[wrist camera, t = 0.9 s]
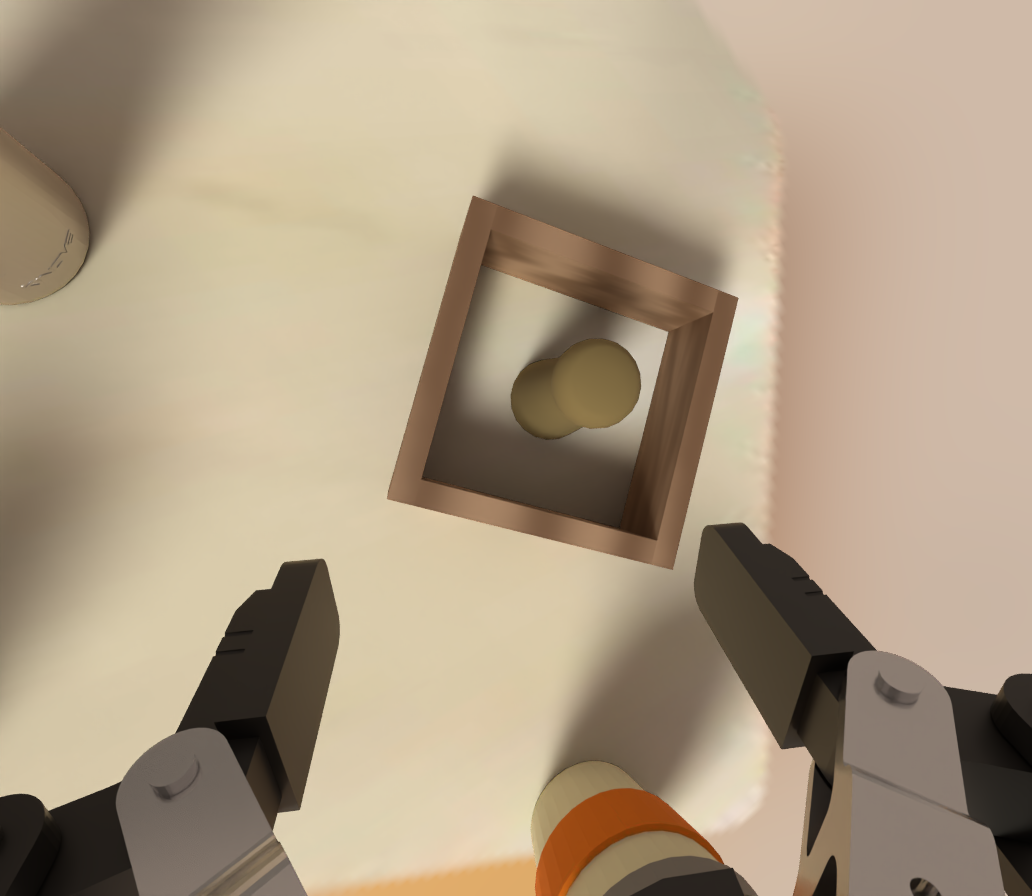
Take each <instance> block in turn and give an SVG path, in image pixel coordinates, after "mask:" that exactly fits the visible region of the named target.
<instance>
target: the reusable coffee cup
mask: <svg viewBox="0 0 1032 896" xmlns="http://www.w3.org/2000/svg"><path fill="white" fill-rule="evenodd" d="M531 837H532V845H533V850H534V856H535V861H536V867H537V872H536V883H535V891H536V896H630V895H632V894H634V893H636V892H638V891H640V890H642V889H644V888H646V887H648V886H649V885H651V884H653V883H655V882H657V881H659V880H661V879H663V878H668V877H675V876H682V875H688V874H695V873H702V872H708V871H715V870H722V869H728V868H730V867H729V866H727V865H724V863H723V861H722V859H721V857H720V855H719V854H718V853H717V852H716V851H715V849H714V848H713V847H712V846H711V845H710V843H709V842H708V841H707V840H706V839H704V838H703V837H702V836H701V835H700V834H699V833H698V832H697V831H696V830H695V829H694V828H693V827H692V826H691V825H689V824H688V823H687V822H686V821H685V820H684V819H683V818H682V817H681V816H680V815H679V814H678V813H677V812H676V811H674V810H673V809H672V808H671V807H670V806H669V805H668V804H667V803H665V802H664V801H663V800H661V799H660V798H659V797H657V796H655V795H653V794H651V793H648V792H646V791H644V790H643V789H642V788H641V787H640V786H639V785H638V784H637V783H636V782H635V781H634V780H633V779H632V778H631V777H630V776H629V775H628V774H627V773H626V772H624V771H623V770H622V769H620V768H619V767H617V766H615V765H613V764H610V763H607V762H602V761H587V762H583V763H578V764H576V765H573V766H571V767H569V768H567V769H565V770H564V771H562V772H561V773H560V774H558V775H557V776H556V777H555V778H554V779H553V780H552V781H551V782H550V783H549V784H548V785H547V786H546V788H545V789H544V790H543V792H542V793H541V795H540V797H539V799H538V801H537V803H536V805H535V809H534V812H533V816H532V822H531ZM734 872H735V871H734ZM735 874H736V877H737V879H738V881H739V884H740V886H741V889H742V891H743V893H745V894H751V895H754V896H758V895H757V894H756V892H755V891H754V890H753V889H752V887H751V886H750V885H749V884H748V883H747V881H746V880H744V878H743V877H742V876H741V875H739V874H738V873H737V872H735Z"/></svg>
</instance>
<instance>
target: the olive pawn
mask: <svg viewBox="0 0 1032 896" xmlns="http://www.w3.org/2000/svg"><path fill="white" fill-rule="evenodd" d="M640 390H641V379H640V372H639V369H638V367H637V364H636V361H635V360H634V359H633V357H632V356H631V355H630V353H629V352H628V351H627V350H626V349H625V348H623V347H622V346H620V345H619V344H618V343H615V342H612V341H609V340H606V339H587V340H584V341H581V342H579V343H576V344H574V345H573V346H571V347H570V348H569V349H568V350H567V351H565V352H564V353H563V354H562V355H561V357H559V358H552V359H545V360H540V361H537V362H535V363H532V364H530V365H528V366H527V367H526V368H525V369H524V370H522V371H521V372H520V373H519V375H518V377H517V378H516V380H515V382H514V384H513V388H512V392H511V407H512V410H513V413H514V415H515V418H516V420H517V421H518V423H519V424H520V425H521V426H522V428H523V429H524V430H525V431H527V432H529V433H530V434H532V435H533V436H535V437H538V438H542V439H546V440H549V439H559V438H562V437H564V436H566V435H569V434H571V433H573V432H574V431H576V430H578V429H580V428H582V427H586V428H590V429H593V428H607V427H610V426H612V425H614V424H617V423H619V422H620V421H621V420H623V419H624V418H625V417H626V416H627V415H628V414H629V413H630V412H631V411H632V410H633V408H634V406H635V405H636V403H637V401H638V399H639V394H640Z"/></svg>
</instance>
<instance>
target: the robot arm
mask: <svg viewBox="0 0 1032 896" xmlns="http://www.w3.org/2000/svg"><path fill="white" fill-rule="evenodd" d="M89 233H90V232H89V226H88V220H87V215H86V213H85V211H84V208H83V206H82V204H81V201H80V200H79V198H78V197H77V196H76V194H75V193H74V191H73V190H72V188H71V187H70V186H69V185H68V184H67V183H66V182H65V181H64V180H62V179H61V178H60V177H59V176H58V175H57V174H56V173H55V172H54V171H52V170H51V169H50V168H49V167H48V166H46V165H45V164H44V163H43V162H41V161H40V160H39V159H38V158H37V157H35V156H34V155H33V154H32V153H31V152H29V151H28V150H27V149H26V148H25V147H23V146H22V145H21V144H20V143H19V142H18V141H17V140H15V139H14V138H13V137H12V136H11V135H9V134H8V133H7V132H6V131H5V130H3V129H2V128H1V127H0V305H16V304H22V303H28V302H33V301H36V300H39V299H41V298H44V297H47V296H49V295H51V294H53V293H54V292H56V291H57V290H59V289H61V288H62V287H64V286H65V285H66V284H67V283H68V282H69V281H70V280H71V279H72V278H73V277H74V276H75V275H76V273H77V272H78V270H79V269H80V267H81V265H82V264H83V262H84V259H85V256H86V253H87V250H88V247H89ZM694 591H695V597H696V601H697V604H698V606H699V609H700V611H701V613H702V614H703V616H704V618H705V619H706V621H707V623H708V624H709V626H710V628H711V630H712V631H713V633H714V635H715V636H716V638H717V640H718V642H719V643H720V645H721V647H722V648H723V650H724V652H725V654H726V655H727V657H728V659H729V660H730V662H731V664H732V666H733V667H734V669H735V671H736V672H737V674H738V676H739V678H740V679H741V681H742V683H743V684H744V686H745V688H746V690H747V691H748V693H749V695H750V696H751V698H752V700H753V702H754V703H755V705H756V707H757V708H758V710H759V712H760V713H761V715H762V717H763V719H764V720H765V722H766V724H767V725H768V727H769V729H770V731H771V732H772V734H773V736H774V737H775V739H776V741H777V743H778V744H779V746H780V748H781V749H788V748H795V747H803V746H806V748H807V750H808V751H809V753H810V754H811V756H812V757H813V760H812V763H811V765H810V770H809V779H808V787H807V797H806V807H805V816H804V826H803V835H802V845H801V855H800V864H799V870H798V876H797V881H796V886H795V889H794V893H793V896H1005V892H1006V893H1007V895H1008V896H1032V674H1017V675H1013V676H1011V677H1009V678H1008V679H1007V680H1006V681H1005V683H1004V685H1003V686H1002V688H1001V690H1000V692H999V693H998V695H995V694H988V693H982V692H976V691H970V690H963V689H957V688H950V687H945V686H942V685H941V683H940V682H939V681H938V680H937V679H936V678H935V677H934V676H933V675H931V674H930V673H929V672H927V671H926V670H924V669H923V668H922V667H921V666H919V665H917V664H915V663H914V662H912V661H910V660H908V659H906V658H903V657H901V656H898V655H895V654H891V653H888V652H882V651H877V650H876V649H875V648H874V647H873V646H872V645H871V644H870V642H868V640H867V639H866V638H865V637H864V636H863V635H862V634H861V632H860V631H859V630H858V629H857V628H856V627H855V626H854V625H853V624H852V623H851V621H849V619H848V618H847V617H846V616H845V615H844V614H843V613H842V612H841V610H840V609H839V608H838V607H837V606H836V605H835V604H834V603H833V602H832V601H831V599H830V598H829V597H828V596H827V595H823V591H822V590H821V588H819V586H818V585H817V584H816V583H815V582H814V581H813V580H810V579H809V575H808V574H807V573H806V572H805V571H804V570H803V569H802V568H801V566H799V564H798V563H797V562H796V561H795V560H794V559H793V558H792V557H790V556H789V555H787V554H786V553H784V552H782V551H781V550H779V549H778V548H776V547H774V546H773V545H771V544H762V543H761V542H760V541H759V540H758V538H757V537H756V536H755V535H754V534H753V533H752V531H751V530H750V529H749V528H748V527H747V526H746V525H745V524H743V523H729V524H718V525H708V526H706V527H705V528H704V529H703V532H702V537H701V543H700V549H699V555H698V561H697V567H696V573H695V579H694ZM339 635H340V624H339V615H338V611H337V606H336V602H335V598H334V594H333V589H332V585H331V581H330V577H329V572H328V568H327V565H326V562H325V560H324V559H313V560H302V561H291V562H284V563H283V564H282V565H281V567H280V570H279V572H278V574H277V577H276V579H275V581H274V584H273V586H272V588H271V589H267V590H256V591H255V592H254V593H253V594H252V595H251V596H250V597H249V598H248V599H247V600H246V601H245V602H244V603H243V604H242V605H241V606H240V607H239V608H238V609H237V610H236V611H235V613H234V615H233V617H232V619H231V621H230V624H229V626H228V628H227V630H226V632H225V637H223V638H222V640H221V642H220V644H219V646H218V648H217V650H216V656H213V658H212V660H211V662H210V664H209V666H208V668H207V670H206V672H205V674H204V676H203V678H202V681H201V683H200V685H199V687H198V689H197V691H196V693H195V695H194V697H193V699H192V701H191V703H190V705H189V707H188V709H187V711H186V713H185V715H184V717H183V719H182V721H181V723H180V725H179V727H178V729H177V731H176V733H175V734H173V735H171V736H169V737H167V738H165V739H163V740H162V741H160V742H158V743H157V744H155V745H154V746H153V747H151V748H150V749H149V750H147V751H146V752H145V753H144V754H143V755H142V756H141V757H140V758H139V759H138V760H137V761H136V762H135V763H134V764H133V765H132V767H131V768H130V769H129V770H128V772H127V773H126V775H125V776H124V778H123V780H122V781H121V782H119V783H117V784H115V785H112V786H110V787H108V788H105V789H103V790H100V791H98V792H95V793H93V794H90V795H88V796H85V797H83V798H80V799H77V800H75V801H72V802H70V803H67V804H65V805H62V806H60V807H57V808H55V809H52V810H50V811H48V810H47V809H46V808H45V806H44V805H43V803H42V802H41V801H40V800H39V799H38V798H36V797H35V796H32V795H29V794H13V795H8V796H4V797H0V896H307V894H306V892H305V890H304V888H303V886H302V884H301V882H300V880H299V878H298V876H297V874H296V872H295V870H294V868H293V866H292V864H291V862H290V860H289V858H288V856H287V854H286V852H285V851H284V849H283V847H282V845H281V843H280V842H278V841H277V839H276V837H275V835H274V833H273V828H274V824H275V820H276V817H277V813H280V812H288V811H296V810H300V807H301V803H302V798H303V794H304V790H305V786H306V781H307V777H308V773H309V769H310V764H311V760H312V756H313V752H314V747H315V743H316V739H317V735H318V730H319V726H320V722H321V718H322V713H323V709H324V705H325V700H326V696H327V692H328V688H329V683H330V679H331V675H332V671H333V666H334V662H335V658H336V654H337V649H338V645H339ZM1004 891H1005V892H1004ZM630 896H754V895H751V894H745V893H743V891H742V889H741V886H740V884H739V881H738V879H737V877H736V874H735V872H734V869H733V868H728V869H722V870H715V871H708V872H702V873H695V874H688V875H682V876H675V877H668V878H663V879H661V880H659V881H657V882H655V883H653V884H651V885H649V886H648V887H646V888H644V889H642V890H640V891H638V892H636V893H634V894H632V895H630Z"/></svg>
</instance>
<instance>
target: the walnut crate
mask: <svg viewBox="0 0 1032 896" xmlns="http://www.w3.org/2000/svg"><path fill="white" fill-rule="evenodd" d="M481 265H483V266H486V267H489V268H492V269H494V270H497V271H500V272H503V273H506V274H508V275H511V276H514V277H517V278H520V279H522V280H525V281H528V282H531V283H534V284H536V285H539V286H542V287H545V288H548V289H550V290H553V291H556V292H559V293H562V294H564V295H567V296H570V297H573V298H576V299H578V300H581V301H584V302H587V303H590V304H592V305H595V306H598V307H601V308H604V309H606V310H609V311H612V312H615V313H618V314H620V315H623V316H626V317H629V318H631V319H634V320H637V321H640V322H643V323H645V324H648V325H651V326H654V327H657V328H659V329H662V330H665V331H668V332H669V333H668V337H667V341H666V345H665V349H664V353H663V357H662V361H661V365H660V369H659V373H658V377H657V381H656V385H655V389H654V393H653V397H652V401H651V405H650V409H649V413H648V417H647V421H646V425H645V429H644V433H643V437H642V441H641V445H640V449H639V453H638V457H637V461H636V465H635V469H634V473H633V477H632V481H631V485H630V488H629V492H628V496H627V500H626V504H625V508H624V512H623V516H622V520H621V524H620V528H617V527H613V526H609V525H605V524H601V523H597V522H594V521H590V520H586V519H582V518H578V517H574V516H570V515H567V514H563V513H559V512H555V511H551V510H547V509H544V508H540V507H536V506H532V505H528V504H524V503H521V502H517V501H513V500H509V499H505V498H501V497H498V496H494V495H490V494H486V493H482V492H478V491H474V490H471V489H467V488H463V487H459V486H455V485H451V484H448V483H444V482H440V481H436V480H432V479H428V478H425V477H422V475H423V471H424V467H425V464H426V460H427V457H428V453H429V449H430V446H431V442H432V439H433V435H434V431H435V428H436V424H437V421H438V417H439V414H440V410H441V406H442V403H443V399H444V396H445V392H446V388H447V385H448V381H449V378H450V374H451V370H452V367H453V363H454V360H455V356H456V353H457V349H458V345H459V342H460V338H461V335H462V331H463V327H464V324H465V320H466V317H467V313H468V309H469V306H470V302H471V299H472V295H473V292H474V288H475V284H476V281H477V277H478V274H479V270H480V266H481ZM737 302H738V297H735V296H732V295H730V294H727V293H725V292H722V291H719V290H717V289H714V288H712V287H709V286H706V285H704V284H701V283H699V282H696V281H693V280H691V279H688V278H686V277H683V276H680V275H678V274H675V273H673V272H670V271H667V270H665V269H662V268H660V267H657V266H655V265H652V264H649V263H647V262H644V261H642V260H639V259H636V258H634V257H631V256H629V255H626V254H623V253H621V252H618V251H616V250H613V249H610V248H608V247H605V246H603V245H600V244H597V243H595V242H592V241H590V240H587V239H585V238H582V237H579V236H577V235H574V234H572V233H569V232H566V231H564V230H561V229H559V228H556V227H553V226H551V225H548V224H546V223H543V222H540V221H538V220H535V219H533V218H530V217H527V216H525V215H522V214H520V213H517V212H514V211H512V210H509V209H507V208H504V207H502V206H499V205H496V204H494V203H491V202H489V201H486V200H483V199H481V198H478V197H476V196H473V197H472V200H471V203H470V207H469V210H468V213H467V216H466V219H465V223H464V226H463V229H462V232H461V235H460V239H459V243H458V246H457V250H456V253H455V257H454V260H453V264H452V267H451V271H450V274H449V278H448V281H447V285H446V289H445V292H444V296H443V299H442V303H441V306H440V310H439V313H438V317H437V320H436V324H435V327H434V331H433V335H432V338H431V342H430V345H429V349H428V352H427V356H426V359H425V363H424V366H423V370H422V373H421V377H420V381H419V384H418V388H417V391H416V395H415V398H414V402H413V405H412V409H411V412H410V416H409V419H408V423H407V427H406V430H405V434H404V437H403V441H402V444H401V448H400V451H399V455H398V458H397V462H396V465H395V469H394V473H393V476H392V480H391V483H390V487H389V490H388V496H387V499H389V500H393V501H397V502H401V503H405V504H409V505H413V506H417V507H421V508H425V509H429V510H433V511H437V512H441V513H445V514H450V515H454V516H458V517H462V518H466V519H470V520H474V521H478V522H482V523H486V524H490V525H494V526H498V527H502V528H506V529H510V530H514V531H518V532H522V533H526V534H530V535H534V536H538V537H542V538H546V539H551V540H555V541H559V542H563V543H567V544H571V545H575V546H579V547H583V548H587V549H591V550H595V551H599V552H603V553H607V554H611V555H615V556H619V557H623V558H627V559H631V560H635V561H639V562H643V563H647V564H652V565H656V566H660V567H664V568H668V569H672V570H673V566H674V562H675V558H676V554H677V550H678V546H679V541H680V537H681V533H682V529H683V525H684V521H685V517H686V513H687V508H688V504H689V500H690V496H691V492H692V488H693V484H694V479H695V475H696V471H697V467H698V463H699V459H700V455H701V451H702V446H703V442H704V438H705V434H706V430H707V426H708V422H709V418H710V413H711V409H712V405H713V401H714V397H715V393H716V389H717V385H718V380H719V376H720V372H721V368H722V364H723V360H724V356H725V352H726V347H727V343H728V339H729V335H730V331H731V327H732V323H733V319H734V314H735V310H736V306H737Z"/></svg>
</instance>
